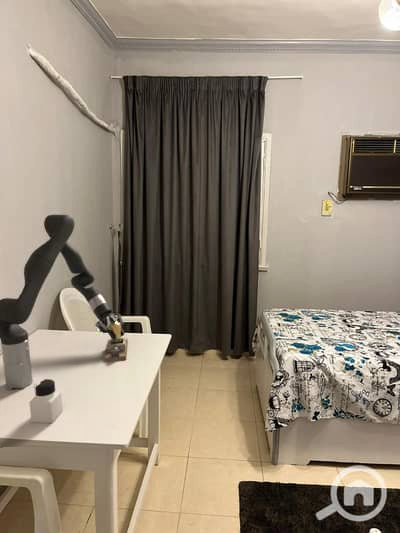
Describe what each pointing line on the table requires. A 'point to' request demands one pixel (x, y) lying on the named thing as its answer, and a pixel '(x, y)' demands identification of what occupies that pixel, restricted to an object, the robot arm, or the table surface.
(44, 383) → the medicine bottle
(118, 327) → the ball
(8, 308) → the robot arm
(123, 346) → the shaft rig
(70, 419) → the table surface
